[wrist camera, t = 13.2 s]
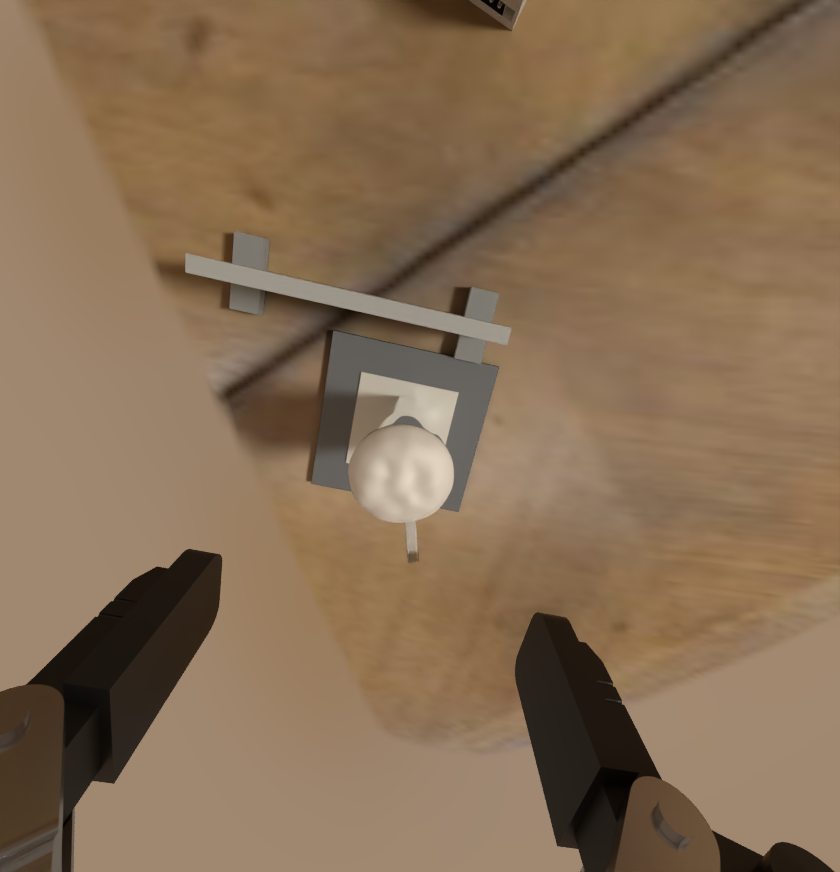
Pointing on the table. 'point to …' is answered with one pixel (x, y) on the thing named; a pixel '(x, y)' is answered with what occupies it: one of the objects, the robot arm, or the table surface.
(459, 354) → the divider wall
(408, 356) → the mat
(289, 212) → the table surface
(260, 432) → the table surface
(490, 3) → the disc drive
